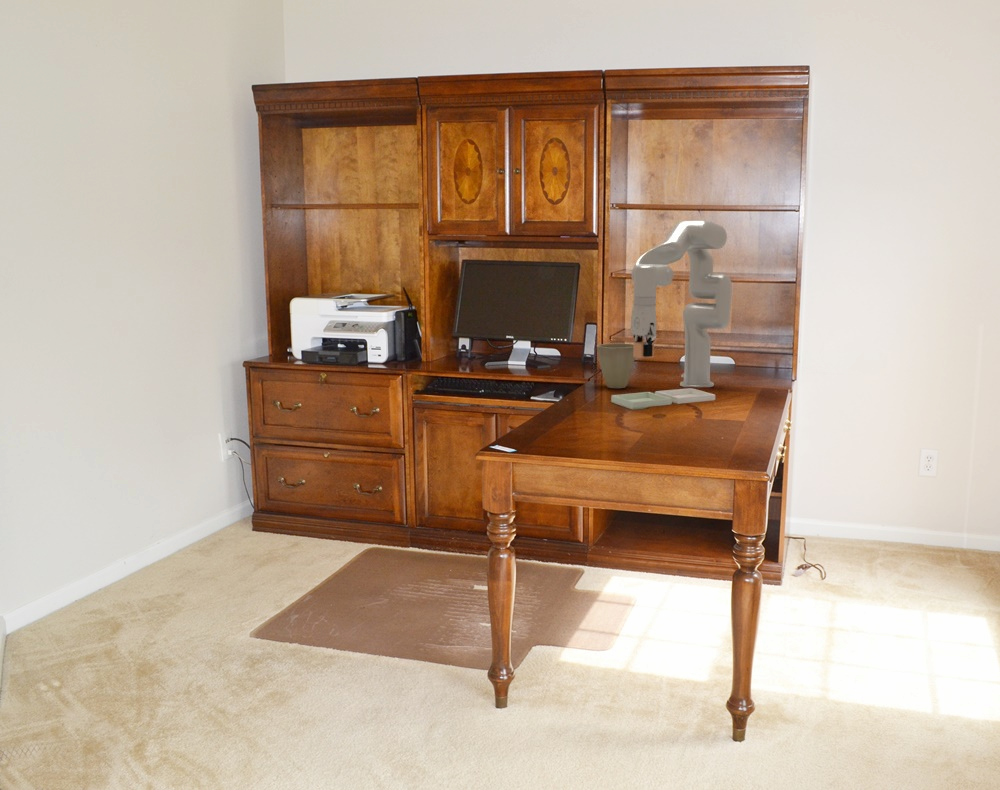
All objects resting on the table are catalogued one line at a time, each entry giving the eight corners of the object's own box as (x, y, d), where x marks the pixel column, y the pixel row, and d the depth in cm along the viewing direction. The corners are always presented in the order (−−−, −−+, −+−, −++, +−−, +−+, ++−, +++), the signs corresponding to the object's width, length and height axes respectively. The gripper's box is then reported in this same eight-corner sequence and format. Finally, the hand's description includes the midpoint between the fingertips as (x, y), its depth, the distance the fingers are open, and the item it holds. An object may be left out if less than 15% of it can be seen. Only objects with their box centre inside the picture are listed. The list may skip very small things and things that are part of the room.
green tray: (611, 402, 332) (611, 395, 331) (648, 398, 337) (649, 391, 337) (632, 409, 318) (632, 402, 317) (671, 406, 323) (671, 398, 323)
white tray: (655, 398, 338) (655, 391, 337) (691, 394, 343) (691, 388, 343) (677, 405, 324) (678, 398, 324) (715, 401, 330) (715, 394, 329)
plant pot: (643, 386, 363) (644, 344, 361) (621, 391, 352) (621, 348, 350) (611, 382, 373) (612, 342, 370) (589, 387, 362) (589, 345, 360)
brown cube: (633, 356, 326) (633, 342, 325) (646, 356, 328) (646, 341, 327) (640, 358, 322) (641, 343, 321) (653, 357, 324) (653, 343, 323)
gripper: (622, 301, 328) (621, 353, 331) (648, 303, 313) (646, 358, 316) (641, 300, 331) (640, 352, 334) (667, 303, 316) (666, 357, 318)
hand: (643, 354), depth 325 cm, fingers closed on brown cube, 4 cm apart
